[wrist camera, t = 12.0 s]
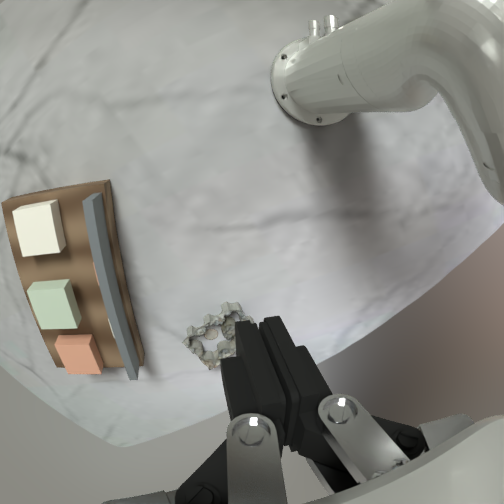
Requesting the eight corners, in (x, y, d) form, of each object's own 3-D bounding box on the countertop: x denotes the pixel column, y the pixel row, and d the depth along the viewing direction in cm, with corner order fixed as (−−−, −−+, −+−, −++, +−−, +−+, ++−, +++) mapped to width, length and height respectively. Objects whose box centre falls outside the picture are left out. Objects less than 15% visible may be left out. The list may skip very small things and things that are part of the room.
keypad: (11, 197, 31) (-15, 210, 24) (109, 179, 34) (94, 190, 27) (61, 355, 42) (51, 383, 35) (144, 353, 45) (141, 384, 38)
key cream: (20, 206, 29) (12, 211, 27) (57, 199, 30) (50, 204, 28) (30, 249, 31) (22, 256, 29) (66, 245, 32) (59, 252, 30)
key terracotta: (58, 335, 37) (54, 344, 35) (92, 334, 38) (88, 344, 36) (71, 363, 39) (68, 373, 37) (103, 363, 40) (101, 374, 38)
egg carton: (205, 356, 48) (208, 373, 44) (177, 328, 45) (177, 345, 41) (259, 324, 47) (265, 340, 44) (234, 293, 44) (239, 308, 40)
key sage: (33, 281, 31) (26, 290, 29) (69, 279, 33) (63, 288, 30) (46, 319, 34) (41, 329, 32) (81, 317, 35) (77, 328, 33)
